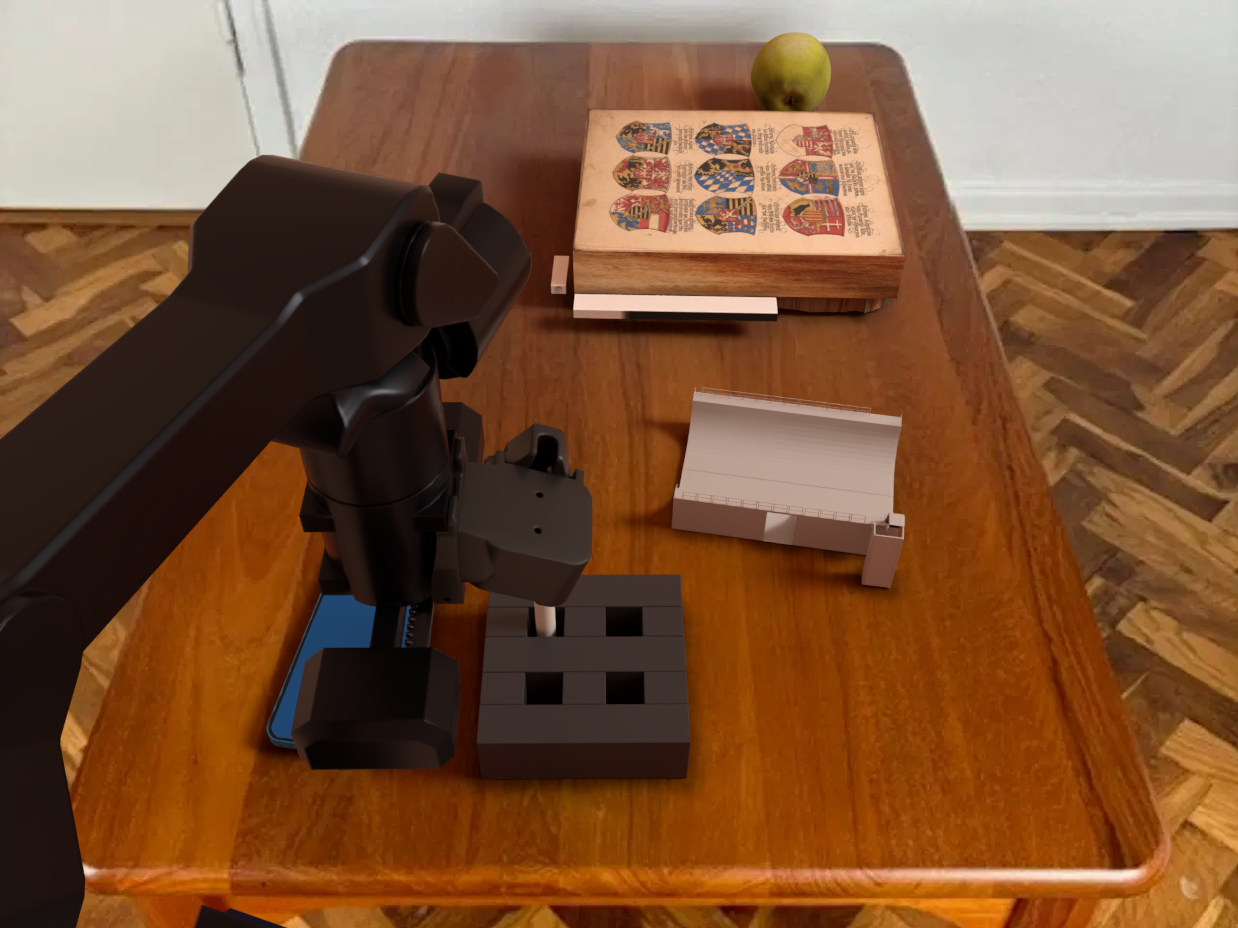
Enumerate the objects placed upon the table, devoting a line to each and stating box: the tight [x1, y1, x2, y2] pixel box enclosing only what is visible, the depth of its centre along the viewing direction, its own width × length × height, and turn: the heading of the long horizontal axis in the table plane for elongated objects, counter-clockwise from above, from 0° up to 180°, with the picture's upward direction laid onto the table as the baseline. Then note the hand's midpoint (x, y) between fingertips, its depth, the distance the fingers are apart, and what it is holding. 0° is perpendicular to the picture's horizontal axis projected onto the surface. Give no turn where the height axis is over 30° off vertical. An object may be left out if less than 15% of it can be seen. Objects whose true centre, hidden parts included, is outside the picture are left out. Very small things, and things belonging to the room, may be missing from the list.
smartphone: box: [266, 592, 411, 750], centre depth 75 cm, size 7×1×15 cm
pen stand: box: [476, 573, 691, 780], centre depth 72 cm, size 12×12×4 cm
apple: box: [750, 32, 832, 111], centre depth 118 cm, size 8×9×8 cm
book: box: [550, 107, 907, 323], centre depth 103 cm, size 25×6×28 cm
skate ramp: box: [671, 386, 906, 589], centre depth 82 cm, size 15×13×5 cm
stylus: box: [534, 601, 556, 637], centre depth 71 cm, size 1×1×11 cm
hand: (421, 673), depth 59 cm, fingers open, 9 cm apart
